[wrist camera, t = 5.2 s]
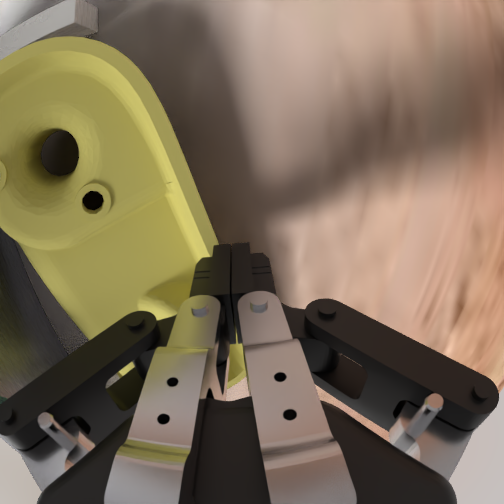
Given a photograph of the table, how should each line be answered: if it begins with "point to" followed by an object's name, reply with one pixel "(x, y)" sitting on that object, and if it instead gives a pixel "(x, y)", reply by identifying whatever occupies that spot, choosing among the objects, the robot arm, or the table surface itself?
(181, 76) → the table surface
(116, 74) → the plastic component
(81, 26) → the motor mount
